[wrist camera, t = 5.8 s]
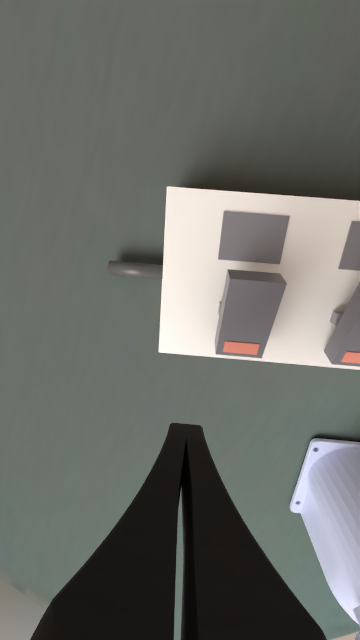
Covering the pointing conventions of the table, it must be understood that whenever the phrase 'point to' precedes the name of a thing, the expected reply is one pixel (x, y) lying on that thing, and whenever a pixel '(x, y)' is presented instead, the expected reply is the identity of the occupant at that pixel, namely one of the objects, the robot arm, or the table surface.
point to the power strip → (254, 267)
